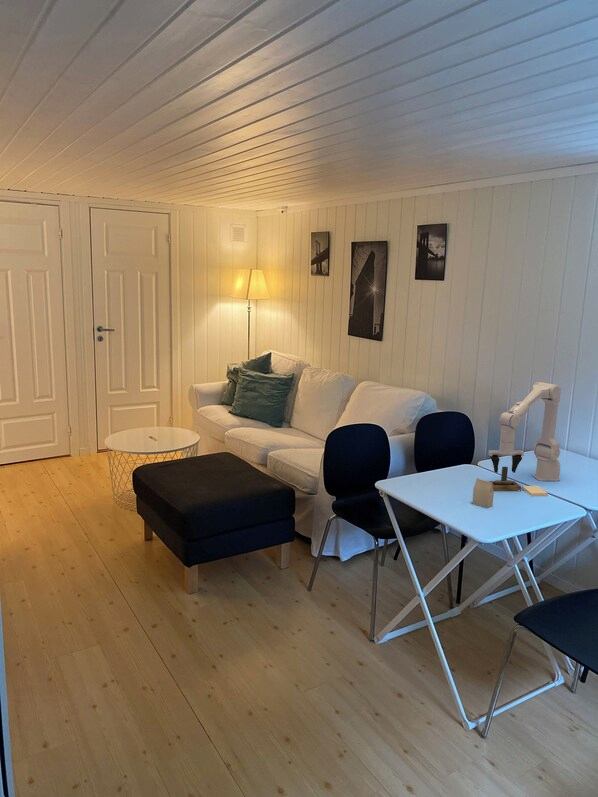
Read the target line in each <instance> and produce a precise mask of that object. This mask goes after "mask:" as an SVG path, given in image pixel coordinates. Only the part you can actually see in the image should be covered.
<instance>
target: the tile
mask: <svg viewBox="0 0 598 797" xmlns="http://www.w3.org/2000/svg"><path fill="white" fill-rule="evenodd" d="M522 489H523V490H524V491H523V490H522ZM521 490H522V491H523V492H525V491H526V492H527V493H528V494H527V493H526V492H525V493H526V494H527V495H528V496H530V495H531V496H530V497H549V496H548V494H549V493H548V492H547V491H545V489H543V488H542V487H541V486H539V485H521Z"/></svg>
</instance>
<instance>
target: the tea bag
mask: <svg viewBox="0 0 598 797" xmlns="http://www.w3.org/2000/svg"><path fill="white" fill-rule="evenodd" d="M489 481H490V480H485V479H480V478H476V480H475V482H474V486H473V490H472V491H473V492H472V501H471V502H472V503H471V504H473V505H477V506H478V507H479V506H480V507H482V508H483V507H484V508H486V509H490V508H491V507H493V505H494V504H493V503H494V493H495V491H494V490H493V482H489Z"/></svg>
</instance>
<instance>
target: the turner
mask: <svg viewBox="0 0 598 797" xmlns="http://www.w3.org/2000/svg"><path fill="white" fill-rule="evenodd" d="M508 469H509V468H508V466H502V467H501V478H500V479H495V480H494V481H495V485H512V481H513V480H512V479H508Z"/></svg>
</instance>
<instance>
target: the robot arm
mask: <svg viewBox="0 0 598 797" xmlns="http://www.w3.org/2000/svg"><path fill="white" fill-rule="evenodd" d="M561 391H562V389H561V387H560V386H559V385H558V384H553V383H547V382H542V381H536V382H535V383H534V384H533V385H532V387H531V391H530V392H529V394H528V395H527V396H526V397H525V398H524V399H523V400H522V401H517V402H515V404H514V405H513V406H512V407H510V409H509V410H507V411H505V412H502V413H501V414H500V415H499V418H498V424H499V429H500V437H499V438H500V439H499V449H494V450H488V456H489V458H490V459H491V462H492V466H493V472H494V473H496V474H497V473H498V471H499V465H500V464H499V462H500V460H501V459H500V458H499V456H502V457H503V456H504V457H506V456H511V460H512V461H511V462H512V463H511V464H512V465H511V472H512V473H514V474H516V471H517V469H518V466H519V464H520V462H522V460H523V457H525V451H523V450H521V449H520V450H518V449H515V440H516V428H517V427H519V425H520V422H521V420H522V418H523V417H524V416H525V415H527V413H528V412H529V407H531V406H532V405H534V404H535V403H536V402H537V401H539V399H541V400H542V401H543V402H544V410H543V411H544V413H543V419H542V420H543V421H542V430H541V437H539V438H538V439H536V441H535V445H534V447H533V453H534V455H535V458H537V460H536V467H535V468H536V469H535V473H534V474H533V473H532V474H531V476H532V477H533V478H535V479H537V481H540V482H541V481H543V482H546V481H547V482H548V481H551V482H552V481H553V482H554V481H555V482H556V481H558V482H559V481H561V479H560V475H561V474H560V473H561V462H560V460H559V459H558V458H559V457H560V454H561V451H560V450H561V449H560V443H559V442H558V441H557V440H556V439H555V435H556V426H557V419H558V410H559V403H560V400H561V393H562V392H561Z"/></svg>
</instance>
